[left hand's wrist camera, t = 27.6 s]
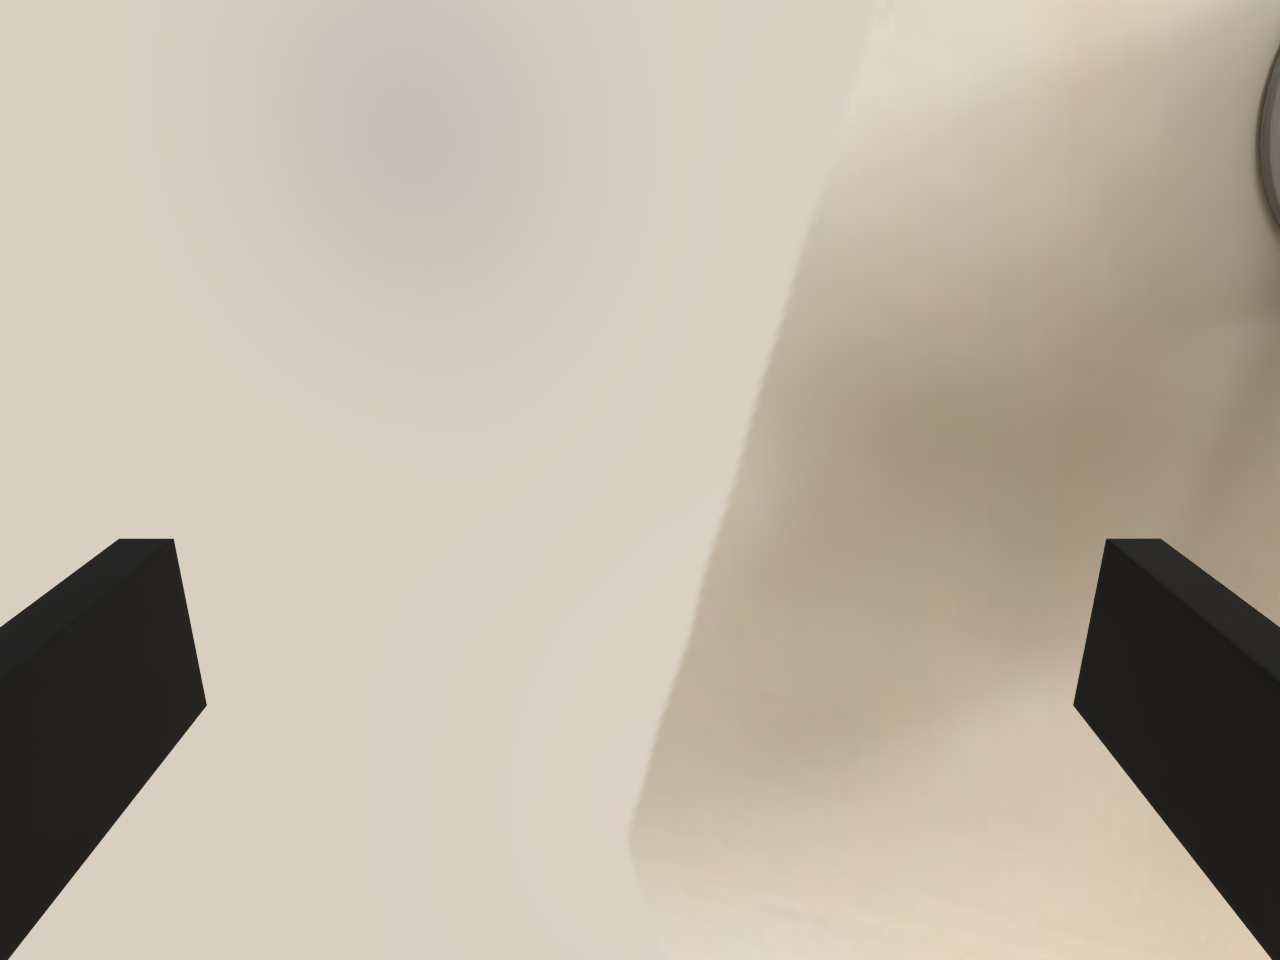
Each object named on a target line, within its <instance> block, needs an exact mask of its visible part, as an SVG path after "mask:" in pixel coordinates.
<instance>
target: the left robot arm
mask: <svg viewBox="0 0 1280 960" xmlns="http://www.w3.org/2000/svg"><path fill="white" fill-rule="evenodd" d="M1260 156H1261V170H1262V176H1263V181H1264V187H1265V191H1266V194H1267V198H1268V201H1269V204H1270V207H1271V209H1272V212H1273V214H1274V216H1275V219H1276V221H1277V223H1278V224H1279V226H1280V54H1279V57H1278V59H1277V62H1276V64H1275V67H1274V70H1273V73H1272V76H1271V80H1270V83H1269V86H1268V90H1267V94H1266V99H1265V104H1264V108H1263V115H1262V124H1261V136H1260ZM206 706H207V704H206V699H205V694H204V689H203V684H202V679H201V674H200V669H199V664H198V659H197V654H196V649H195V644H194V639H193V634H192V629H191V624H190V619H189V614H188V609H187V604H186V598H185V594H184V589H183V584H182V578H181V573H180V568H179V563H178V558H177V553H176V548H175V543H174V539H118V540H117V541H116V542H114V543H113V544H112V545H110V546H109V547H108V548H106V549H105V550H103V551H102V552H101V553H100V554H98V555H97V556H95V557H94V558H93V559H91V560H90V561H89V562H87V563H86V564H85V565H83V566H82V567H81V568H79V569H78V570H77V571H75V572H74V573H73V574H71V575H70V576H69V577H67V578H66V579H65V580H63V581H62V582H60V583H59V584H58V585H56V586H55V587H54V588H52V589H51V590H50V591H48V592H47V593H46V594H44V595H43V596H42V597H40V598H39V599H38V600H36V601H35V602H34V603H32V604H31V605H30V606H28V607H27V608H26V609H24V610H23V611H22V612H20V613H19V614H18V615H16V616H15V617H14V618H12V619H11V620H9V621H8V622H7V623H5V624H4V625H3V626H1V627H0V960H8V959H9V958H10V956H11V955H12V954H13V953H14V951H15V950H16V949H17V947H18V946H19V945H20V944H21V942H22V941H23V940H24V938H25V937H26V936H27V935H28V933H29V932H30V931H31V929H32V928H33V927H34V926H35V924H36V923H37V922H38V921H39V919H40V918H41V917H42V915H43V914H44V913H45V912H46V910H47V909H48V908H49V906H50V905H51V904H52V903H53V901H54V900H55V899H56V897H57V896H58V895H59V894H60V892H61V891H62V890H63V889H64V887H65V886H66V885H67V883H68V882H69V881H70V880H71V878H72V877H73V876H74V874H75V873H76V872H77V871H78V869H79V868H80V867H81V866H82V864H83V863H84V862H85V860H86V859H87V858H88V857H89V855H90V854H91V853H92V851H93V850H94V849H95V848H96V846H97V845H98V844H99V843H100V841H101V840H102V839H103V837H104V836H105V835H106V834H107V832H108V831H109V830H110V828H111V827H112V826H113V825H114V823H115V822H116V821H117V819H118V818H119V817H120V816H121V814H122V813H123V812H124V810H125V809H126V808H127V807H128V805H129V804H130V803H131V802H132V800H133V799H134V798H135V796H136V795H137V794H138V793H139V791H140V790H141V789H142V787H143V786H144V785H145V784H146V782H147V781H148V780H149V779H150V777H151V776H152V775H153V773H154V772H155V771H156V770H157V768H158V767H159V766H160V764H161V763H162V762H163V761H164V759H165V758H166V757H167V755H168V754H169V753H170V752H171V750H172V749H173V748H174V746H175V745H176V744H177V743H178V741H179V740H180V739H181V738H182V736H183V735H184V734H185V732H186V731H187V730H188V729H189V727H190V726H191V725H192V724H193V722H194V721H195V720H196V718H197V717H198V716H199V715H200V713H201V712H202V711H203V709H204V708H205V707H206ZM1073 706H1074V707H1075V708H1076V709H1077V711H1078V712H1079V713H1080V715H1081V716H1082V717H1083V718H1084V720H1085V721H1086V722H1087V724H1088V725H1089V726H1090V727H1091V729H1092V730H1093V731H1094V733H1095V734H1096V735H1097V736H1098V738H1099V739H1100V740H1101V741H1102V743H1103V744H1104V745H1105V747H1106V748H1107V749H1108V750H1109V752H1110V753H1111V754H1112V756H1113V757H1114V758H1115V759H1116V761H1117V762H1118V763H1119V764H1120V766H1121V767H1122V768H1123V770H1124V771H1125V772H1126V773H1127V775H1128V776H1129V777H1130V779H1131V780H1132V781H1133V782H1134V784H1135V785H1136V786H1137V788H1138V789H1139V790H1140V791H1141V793H1142V794H1143V795H1144V796H1145V798H1146V799H1147V800H1148V802H1149V803H1150V804H1151V805H1152V807H1153V808H1154V809H1155V811H1156V812H1157V813H1158V814H1159V816H1160V817H1161V818H1162V820H1163V821H1164V822H1165V823H1166V825H1167V826H1168V827H1169V828H1170V830H1171V831H1172V832H1173V834H1174V835H1175V836H1176V837H1177V839H1178V840H1179V841H1180V843H1181V844H1182V845H1183V846H1184V848H1185V849H1186V850H1187V851H1188V853H1189V854H1190V855H1191V857H1192V858H1193V859H1194V860H1195V862H1196V863H1197V864H1198V866H1199V867H1200V868H1201V869H1202V871H1203V872H1204V873H1205V875H1206V876H1207V877H1208V878H1209V880H1210V881H1211V882H1212V883H1213V885H1214V886H1215V887H1216V889H1217V890H1218V891H1219V892H1220V894H1221V895H1222V896H1223V898H1224V899H1225V900H1226V901H1227V903H1228V904H1229V905H1230V906H1231V908H1232V909H1233V910H1234V912H1235V913H1236V914H1237V915H1238V917H1239V918H1240V919H1241V921H1242V922H1243V923H1244V924H1245V926H1246V927H1247V928H1248V930H1249V931H1250V932H1251V933H1252V935H1253V936H1254V937H1255V938H1256V940H1257V941H1258V942H1259V944H1260V945H1261V946H1262V947H1263V949H1264V950H1265V951H1266V953H1267V954H1268V955H1269V956H1270V958H1271V959H1272V960H1280V627H1279V626H1277V625H1276V624H1275V623H1273V622H1272V621H1271V620H1269V619H1268V618H1267V617H1265V616H1264V615H1263V614H1261V613H1260V612H1258V611H1257V610H1256V609H1254V608H1253V607H1252V606H1250V605H1249V604H1248V603H1246V602H1245V601H1244V600H1242V599H1241V598H1240V597H1238V596H1237V595H1236V594H1234V593H1233V592H1232V591H1230V590H1229V589H1228V588H1226V587H1225V586H1224V585H1222V584H1221V583H1220V582H1218V581H1217V580H1215V579H1214V578H1213V577H1211V576H1210V575H1209V574H1207V573H1206V572H1205V571H1203V570H1202V569H1201V568H1199V567H1198V566H1197V565H1195V564H1194V563H1193V562H1191V561H1190V560H1189V559H1187V558H1186V557H1185V556H1183V555H1182V554H1181V553H1179V552H1178V551H1177V550H1175V549H1174V548H1172V547H1171V546H1170V545H1168V544H1167V543H1166V542H1164V541H1163V540H1162V539H1106V543H1105V548H1104V553H1103V558H1102V563H1101V568H1100V573H1099V578H1098V583H1097V588H1096V593H1095V598H1094V604H1093V609H1092V614H1091V619H1090V624H1089V629H1088V634H1087V639H1086V644H1085V649H1084V654H1083V659H1082V664H1081V669H1080V674H1079V679H1078V684H1077V689H1076V694H1075V699H1074V704H1073Z"/></svg>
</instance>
